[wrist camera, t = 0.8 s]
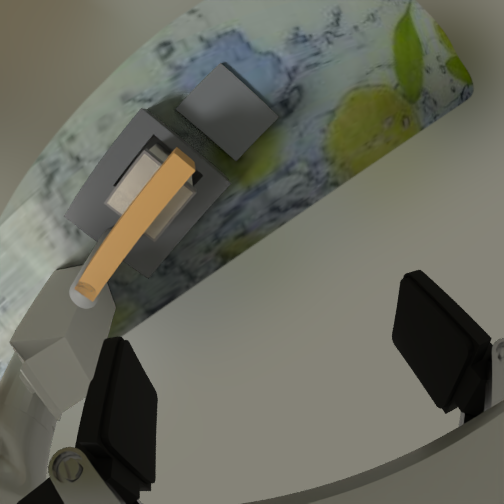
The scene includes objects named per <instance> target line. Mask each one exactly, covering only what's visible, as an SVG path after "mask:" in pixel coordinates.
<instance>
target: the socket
mask: <svg viewBox="0 0 504 504" xmlns="http://www.w3.org/2000/svg"><path fill="white" fill-rule="evenodd" d="M157 143H158V144H159V145H160V146H162V147H163V148H164V149H165V150H167V151H168V152H169V153H170V154H171V153H172V152H173V150H174V149H175V148H176V147H178V148H179V149H180V150H181V151H182V152H184V153H185V154H186V155H187V156H188V157H190V158H191V159H192V160H193V161H194V162H195V170H196V171H195V172H194V173H193V174H192V184H193V187H195V188H196V192H197V193H196V194H195V195H194V196H193V197H192V199H191V200H190V201H189V202H188V203H187V204H186V205H185V207H184V208H183V209H182V210H181V211H180V212H179V214H178V215H177V216H176V217H175V218H174V220H173V221H172V222H171V223H170V224H169V226H168V227H167V228H166V229H165V230H164V232H163V233H162V234H161V235H160V236H159V238H158V239H157V240H156V241H155V242H154V241H153V240H151V239H150V238H149V237H147V236H146V235H145V234H142V236H141V237H140V238H139V240H138V241H137V242H136V243H135V245H134V246H133V247H132V249H131V250H130V251H129V253H128V254H127V255H126V257H125V258H124V259H123V261H124V262H125V263H127V264H128V265H129V266H131V267H132V268H134V269H135V270H136V271H138V272H139V273H141V274H142V275H144V276H145V277H146V278H148V279H149V277H150V276H151V275H152V274H153V273H154V271H155V270H156V269H157V268H158V267H159V265H160V264H161V263H162V262H163V261H164V259H165V258H166V257H167V256H168V255H169V253H170V252H171V251H172V250H173V249H174V248H175V246H176V245H177V244H178V243H179V242H180V241H181V239H182V238H183V237H184V236H185V235H186V234H187V232H188V231H189V230H190V229H191V228H192V227H193V226H194V224H195V223H196V222H197V221H198V220H199V219H200V218H201V216H202V215H203V214H204V213H205V212H206V211H207V210H208V209H209V207H210V206H211V205H212V204H213V203H214V202H215V201H216V200H217V199H218V197H219V196H220V195H221V194H222V193H223V192H224V191H225V190H226V189H227V188H228V186H229V185H230V184H231V183H230V181H229V179H228V178H227V176H226V175H224V174H223V173H222V172H221V171H220V170H219V169H217V168H216V167H215V166H214V165H213V164H212V163H211V162H209V161H208V160H207V159H206V158H205V157H204V156H202V155H201V154H200V153H199V152H198V151H196V150H195V149H194V148H193V147H192V146H191V145H189V144H188V143H187V142H186V141H185V140H183V139H182V138H181V137H180V136H179V135H177V134H176V133H175V132H174V131H173V130H171V129H170V128H169V127H168V126H167V125H165V124H164V123H163V122H162V121H161V120H159V119H158V118H157V117H156V116H154V115H153V114H152V113H151V112H150V111H148V110H147V109H143V108H141V109H140V110H139V112H138V113H137V114H136V115H135V116H134V118H133V119H132V120H131V121H130V122H129V124H128V125H127V126H126V127H125V129H124V130H123V131H122V132H121V134H120V135H119V136H118V138H117V139H116V140H115V141H114V143H113V144H112V145H111V147H110V148H109V149H108V151H107V152H106V153H105V155H104V156H103V158H102V159H101V160H100V162H99V163H98V164H97V166H96V167H95V169H94V170H93V172H92V173H91V175H90V176H89V177H88V179H87V180H86V182H85V183H84V185H83V186H82V188H81V189H80V191H79V193H78V194H77V196H76V197H75V199H74V200H73V202H72V204H71V205H70V207H69V208H68V210H67V212H66V213H65V215H64V217H66V218H67V219H68V220H69V221H71V222H72V223H73V224H74V225H76V226H77V227H78V228H80V229H81V230H82V231H83V232H85V233H86V234H87V235H89V236H90V237H91V238H93V239H94V240H95V241H97V242H98V240H99V239H100V237H101V236H102V234H103V233H104V231H106V230H107V229H112V228H113V227H114V226H115V224H116V223H117V221H118V220H119V219H120V217H121V216H120V215H118V214H117V213H116V212H114V211H113V210H112V209H110V208H109V207H108V206H107V205H105V204H104V202H105V201H106V199H107V198H108V197H109V195H110V194H111V192H112V191H113V190H114V188H115V187H116V186H117V184H118V183H119V182H120V180H121V179H122V178H123V176H124V175H125V174H126V172H127V171H128V170H129V168H130V167H131V166H132V164H133V163H134V162H135V161H136V159H137V158H138V157H139V156H140V154H141V153H142V152H143V151H144V150H145V149H146V148H147V149H148V150H149V149H150V148H152V147H153V146H154V145H155V144H157Z"/></svg>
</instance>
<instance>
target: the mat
mask: <svg viewBox="0 0 504 504" xmlns="http://www.w3.org/2000/svg"><path fill="white" fill-rule="evenodd" d="M176 110H177V111H178V112H180V113H181V114H182V115H183V116H184V117H186V118H187V119H188V120H189V121H190V122H191V123H193V124H194V125H195V126H196V127H197V128H199V129H200V130H201V131H202V132H203V133H204V134H205V135H207V136H208V137H209V138H210V139H211V140H212V141H214V142H215V143H216V144H217V145H218V146H219V147H220V148H222V149H223V150H224V151H225V152H226V153H227V154H228V155H230V156H231V157H232V158H233V159H234V160H235V161H237V160H238V159H239V158H240V157H241V156H242V155H243V153H244V152H245V151H246V150H247V149H248V148H249V147H250V146H251V145H252V144H253V143H254V142H255V141H256V140H257V139H258V138H259V137H260V136H261V135H262V134H263V133H264V132H265V131H266V130H267V129H268V128H269V127H270V126H271V125H272V124H273V123H274V122H275V121H276V120H277V119H278V118H279V117H278V116H277V115H276V114H275V113H274V112H273V111H272V110H271V109H270V108H269V107H268V106H267V105H266V104H265V103H264V102H263V101H262V100H261V99H260V98H259V97H258V96H257V95H256V94H255V93H253V92H252V91H251V90H250V89H249V88H248V87H247V86H246V85H245V84H244V83H243V82H241V81H240V80H239V79H238V78H237V77H236V76H235V75H234V74H233V73H231V72H230V71H229V70H228V69H227V68H226V67H225V66H223V65H222V64H221V63H220V64H219V65H218V66H217V67H216V68H215V69H213V70H212V71H211V72H210V73H209V74H208V75H207V76H206V77H205V78H204V79H203V80H202V81H201V82H200V83H199V84H198V85H197V86H196V87H195V89H194V90H193V91H192V92H191V93H190V94H189V95H188V96H187V97H186V98H185V99H184V100H183V101H182V102H181V103H180V104H179V105H178V107H177V108H176Z"/></svg>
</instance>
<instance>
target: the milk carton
mask: <svg viewBox="0 0 504 504" xmlns="http://www.w3.org/2000/svg"><path fill="white" fill-rule="evenodd" d="M82 266H83V265H81V266H76V267H71V268H66V269H60V270H55V271H54V272H53V274H52V275H51V276H50V278H49V279H48V281H47V282H46V284H45V285H44V287H43V288H42V290H41V291H40V293H39V294H38V296H37V297H36V299H35V300H34V302H33V303H32V305H31V307H30V308H29V310H28V311H27V313H26V315H25V316H24V318H23V319H22V321H21V323H20V324H19V326H18V328H17V329H16V331H15V333H14V335H13V336H12V338H11V340H10V344H11V346H12V347H13V349H14V351H15V352H16V354H17V356H18V357H19V359H20V361H21V362H22V367H21V369H20V371H21V372H22V373H21V374H20V375H19V377H20V379H21V380H22V382H23V383H24V384H25V386H26V387H27V388H28V390H29V391H30V392H31V393H32V394H33V393H34V392H36V394H37V395H38V396H39V398H40V399H41V400H42V402H43V403H44V404H45V406H46V407H47V408H48V409H49V411H50V412H51V413H52V414H53V416H54V417H55V418H56V419H57V421H60V419H61V415H62V413H63V412H64V411H66V410H67V409H69V408H70V407H72V406H73V405H75V404H76V403H78V402H79V401H81V400H82V399H83V398H85V397H86V395H87V391H88V387H89V384H90V381H91V380H92V379H93V377H94V373H95V369H96V365H97V362H98V358H99V355H100V351H101V348H102V344H103V341H104V339H107V338H108V334H109V331H110V327H111V323H112V320H113V316H114V313H115V309H116V306H115V303H114V300H113V298H112V295H111V292H110V289H109V287H108V284H107V283H106V284H105V285H104V287H103V289H102V291H101V294H100V296H99V299H98V301H97V303H96V305H95V306H94V307H92V308H88V309H85V308H81V307H79V306H77V305H76V304H75V303H74V302H73V301H72V300H71V298H70V294H69V290H70V287H71V285H72V284H73V282H74V280H75V278H76V277H77V275H78V273H79V271H80V270H81V268H82Z"/></svg>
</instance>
